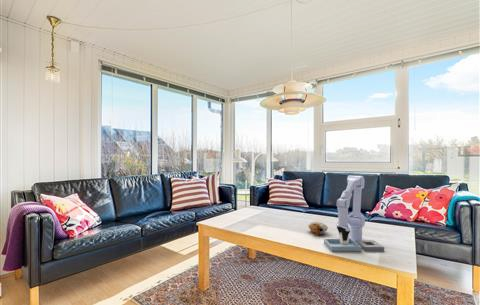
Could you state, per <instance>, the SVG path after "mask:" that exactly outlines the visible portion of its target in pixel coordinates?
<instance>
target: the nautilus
mask: <svg viewBox="0 0 480 305" xmlns="http://www.w3.org/2000/svg"><path fill="white" fill-rule="evenodd" d="M308 229H309V230H310V231H311V232H312V233H313V235H315V237H320V235H323V234H324V233H326V232H327V231H328V229H329V227H328V226H327V225H326V224H325V223H324V222H321V221H313V222H310V223H308Z"/></svg>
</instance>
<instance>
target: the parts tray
mask: <svg viewBox="0 0 480 305" xmlns="http://www.w3.org/2000/svg"><path fill="white" fill-rule="evenodd" d="M323 244H324V245H325V246H326V247H327V248H328V250H330V252H333V253H335V252H342V253H343V252H344V253H345V252H348V253H349V252H354V253H356V252H358V253H359V252H360V253H362V251H363V250H362V247H361V246H360V245H359V244H357V243H356V242H355V241H353V240H352V239H350V238H349V245H341V244H340V238H323Z"/></svg>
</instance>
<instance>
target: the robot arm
mask: <svg viewBox="0 0 480 305" xmlns="http://www.w3.org/2000/svg"><path fill="white" fill-rule="evenodd" d="M346 182H347V186H346V189H345V190H343V191H342V193H341V196H340V198H338V199H337V200H336V204H335V205H336V207H337V208H336V210H337V212H338V213H337V217H338V218H337V219H338V221H337V224H335V225H336V229H337V231H338V235H339V236H340V232H341V233H342V238H343V241H347V238H348V234H349V239H352V240H353V241H355V240H365V239H364V238H363V228H364V227H365V225H366V220H365V219H366V218H365V215H364V214H363V213H362V212H361V207H362V190H363V189H365V178H364V176H363V175H350V174H349V175H348V176H347V179H346ZM352 192H353V193H352ZM352 197H353V199H352V200H353V202H352V211H351V212H349V208H350V203H351V198H352Z"/></svg>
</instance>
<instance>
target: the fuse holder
mask: <svg viewBox="0 0 480 305" xmlns="http://www.w3.org/2000/svg"><path fill="white" fill-rule="evenodd" d="M355 242H356V243H357V244H359V245H360V246H361V247H362V251H363V252H385V246H383V245H382V244H380V243H379V242H377V241H375V240H374V239H372V240H371V239H369V240H368V239H364V240H355Z"/></svg>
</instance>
